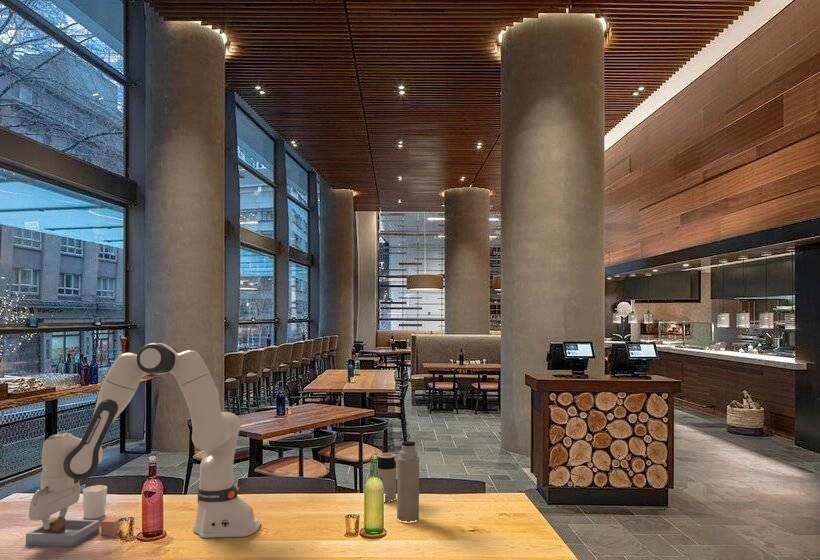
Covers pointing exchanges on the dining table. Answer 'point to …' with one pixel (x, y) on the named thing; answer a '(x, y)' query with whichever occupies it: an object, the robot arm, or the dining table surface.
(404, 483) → the thermos bottle
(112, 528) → the terracotta block
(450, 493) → the dining table surface
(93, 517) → the white cup
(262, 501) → the dining table surface
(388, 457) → the travel mug
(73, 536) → the tray
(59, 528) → the walnut block
